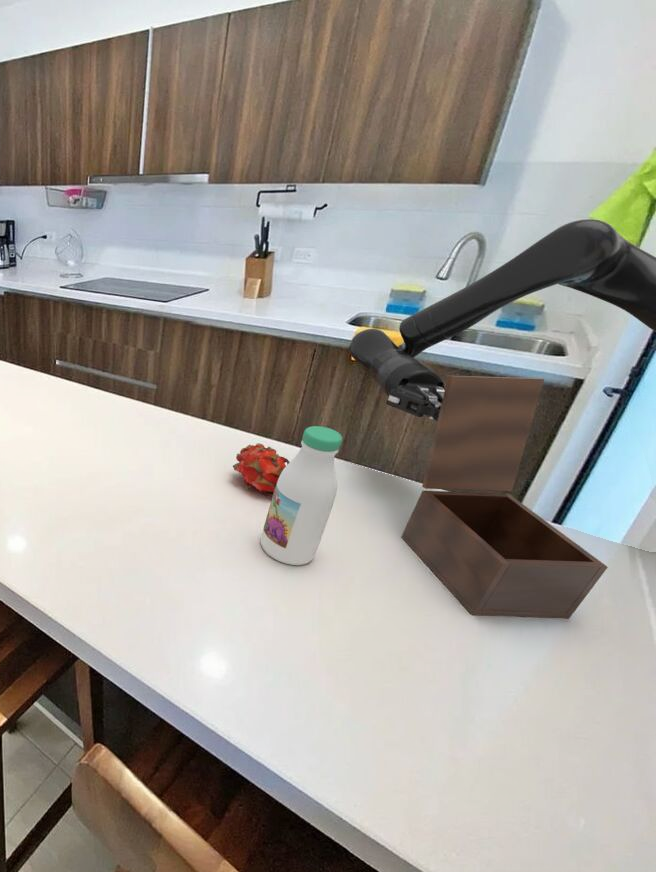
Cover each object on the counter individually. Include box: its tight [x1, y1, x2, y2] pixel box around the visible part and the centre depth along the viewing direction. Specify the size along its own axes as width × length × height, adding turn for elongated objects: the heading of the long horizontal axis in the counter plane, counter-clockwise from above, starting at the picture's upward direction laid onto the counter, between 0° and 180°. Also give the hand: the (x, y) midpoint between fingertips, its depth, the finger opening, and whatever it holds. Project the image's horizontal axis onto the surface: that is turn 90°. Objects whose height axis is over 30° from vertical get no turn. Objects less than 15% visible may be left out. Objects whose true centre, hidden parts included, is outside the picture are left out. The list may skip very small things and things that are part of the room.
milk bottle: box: [260, 425, 343, 566], centre depth 71 cm, size 8×8×20 cm
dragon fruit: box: [232, 443, 291, 497], centre depth 89 cm, size 8×8×12 cm
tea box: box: [400, 490, 609, 619], centre depth 70 cm, size 16×13×9 cm
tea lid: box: [421, 375, 545, 492], centre depth 72 cm, size 17×13×1 cm
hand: (455, 424), depth 74 cm, fingers closed
